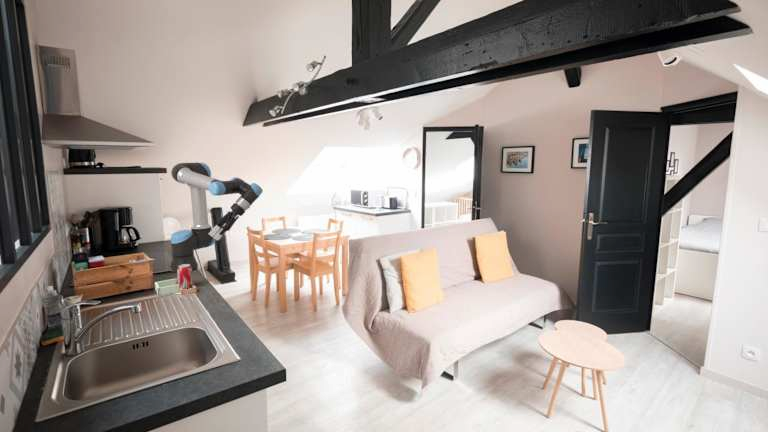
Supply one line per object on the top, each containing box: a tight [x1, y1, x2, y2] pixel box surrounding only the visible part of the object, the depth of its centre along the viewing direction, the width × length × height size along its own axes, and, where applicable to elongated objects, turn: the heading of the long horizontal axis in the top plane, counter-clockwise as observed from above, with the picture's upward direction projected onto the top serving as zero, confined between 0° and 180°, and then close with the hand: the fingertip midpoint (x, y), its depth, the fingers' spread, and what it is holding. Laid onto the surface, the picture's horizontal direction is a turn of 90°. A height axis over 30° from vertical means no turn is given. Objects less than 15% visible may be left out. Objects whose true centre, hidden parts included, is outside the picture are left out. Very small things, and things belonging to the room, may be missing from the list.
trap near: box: [179, 284, 198, 296], centre depth 195 cm, size 7×4×2 cm, turn 127°
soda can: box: [176, 264, 194, 289], centre depth 202 cm, size 7×7×12 cm
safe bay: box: [154, 278, 180, 297], centre depth 197 cm, size 10×12×4 cm
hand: (212, 237), depth 207 cm, fingers open, 11 cm apart
